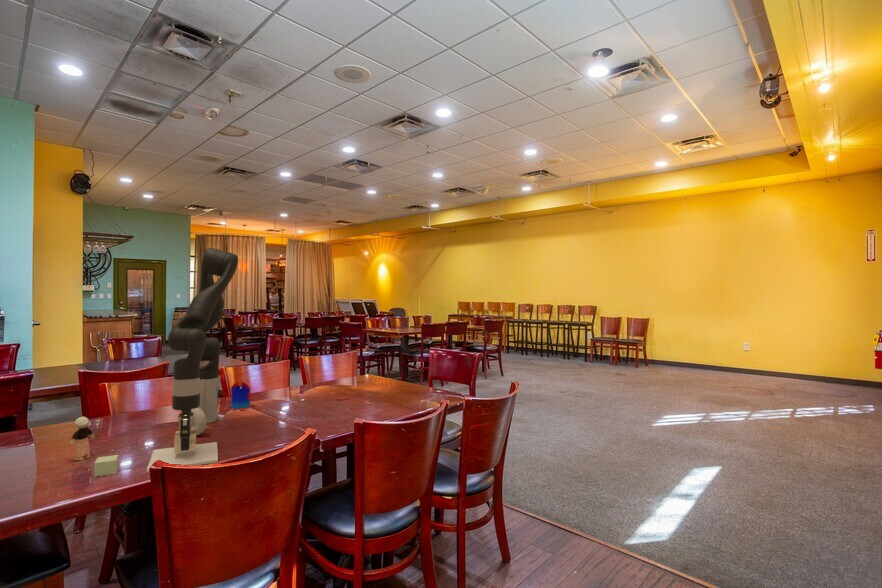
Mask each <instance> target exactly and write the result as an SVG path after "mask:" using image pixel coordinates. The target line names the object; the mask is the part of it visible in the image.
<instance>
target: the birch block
mask: <svg viewBox="0 0 882 588" xmlns="http://www.w3.org/2000/svg"><path fill="white" fill-rule="evenodd" d="M174 433H175V434H174V445H173V447H174V453H180V452H187V451H195V450H196V445H197V436H196V429H194V430H190V438H189V450H185V451H181V438H180V431H175V432H174ZM185 433H188V431H187V430H185V431H183V434H185Z"/></svg>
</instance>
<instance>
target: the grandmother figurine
mask: <svg viewBox="0 0 882 588" xmlns="http://www.w3.org/2000/svg"><path fill="white" fill-rule="evenodd" d="M89 423H90V419H89V418H88V417H86V416H80V417H78V418H76V420H75V426H76V428H77V429H78V430H75V431H74V433H73V434H72V436H71V438H70V442H69V445H70V446H73V445H74V450H73V457H74V458H73V461H74V460H80V461H83V460H85V459H87V458H91V454H90V451H91V450H90V442H89V439H88V438H89V437H90V439H95V437H96V436H95V434H94V432H93V430H91V429H90V428H89V427H88V426H87V425H89Z"/></svg>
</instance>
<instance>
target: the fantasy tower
mask: <svg viewBox="0 0 882 588" xmlns="http://www.w3.org/2000/svg"><path fill="white" fill-rule="evenodd" d="M230 388H231V389H230V392H231V400H230V402H231V404H230V407H229V408H228V407H224V408H222V411H223V410H224V411H223V412H226V411H225V410H229V409H230V410H240V411H246V410H247V409H248V410H250V409H249V408H251V409H253V408H258V407H257V406H258V405H257V404H255V403H254V404H253V403H252V405H250V404H251V386H250V385H249V384H248V383H247V382H246V381H241V382H240V385H239V382H238V381H237V382H235V383H233V385H231V387H230ZM252 406H253V407H252ZM230 410H229V411H230ZM248 410H247V411H248ZM247 411H246V412H247Z"/></svg>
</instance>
